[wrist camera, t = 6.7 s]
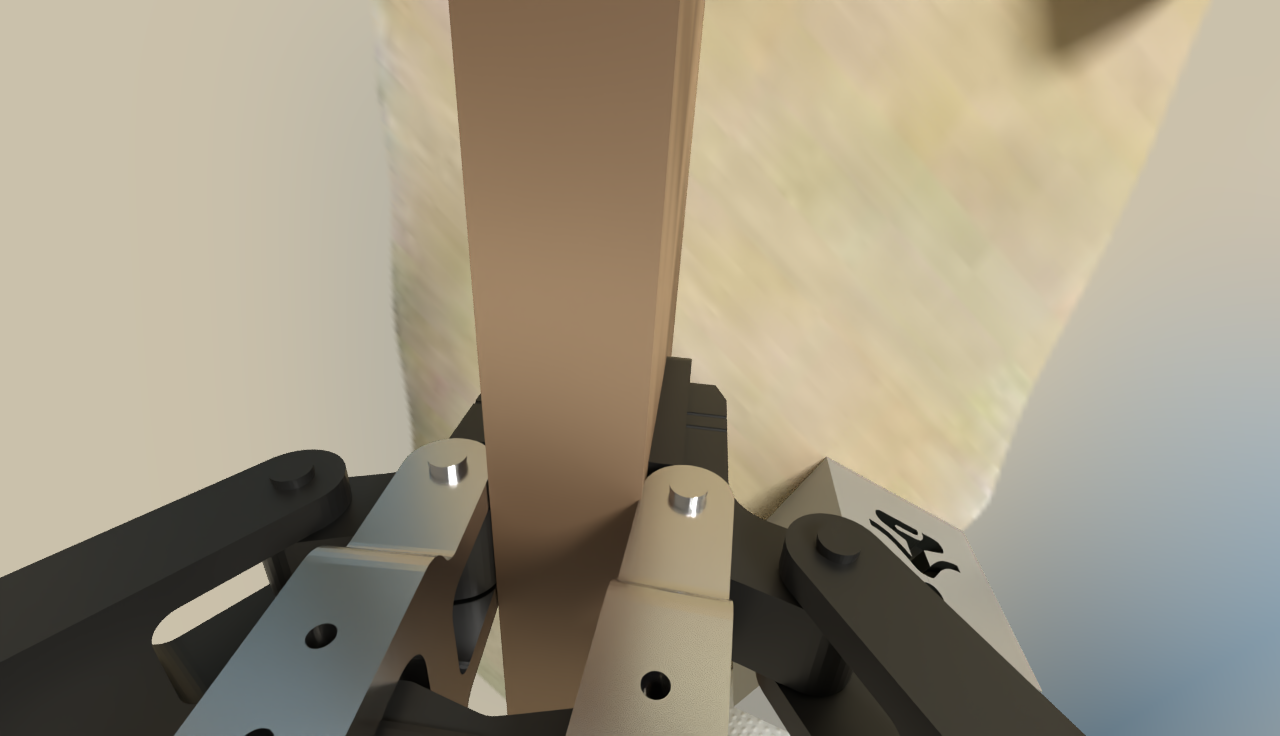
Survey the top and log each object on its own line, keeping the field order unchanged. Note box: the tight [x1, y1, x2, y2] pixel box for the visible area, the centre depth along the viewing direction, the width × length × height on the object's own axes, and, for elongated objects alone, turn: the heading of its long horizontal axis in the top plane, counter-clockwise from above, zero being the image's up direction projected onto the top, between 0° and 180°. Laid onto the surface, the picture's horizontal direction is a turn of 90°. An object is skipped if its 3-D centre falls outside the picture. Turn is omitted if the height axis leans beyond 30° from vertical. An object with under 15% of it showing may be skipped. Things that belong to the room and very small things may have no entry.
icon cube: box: [733, 457, 1042, 732], centre depth 33 cm, size 10×10×10 cm
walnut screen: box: [448, 0, 705, 715], centre depth 11 cm, size 18×2×7 cm, turn 177°
